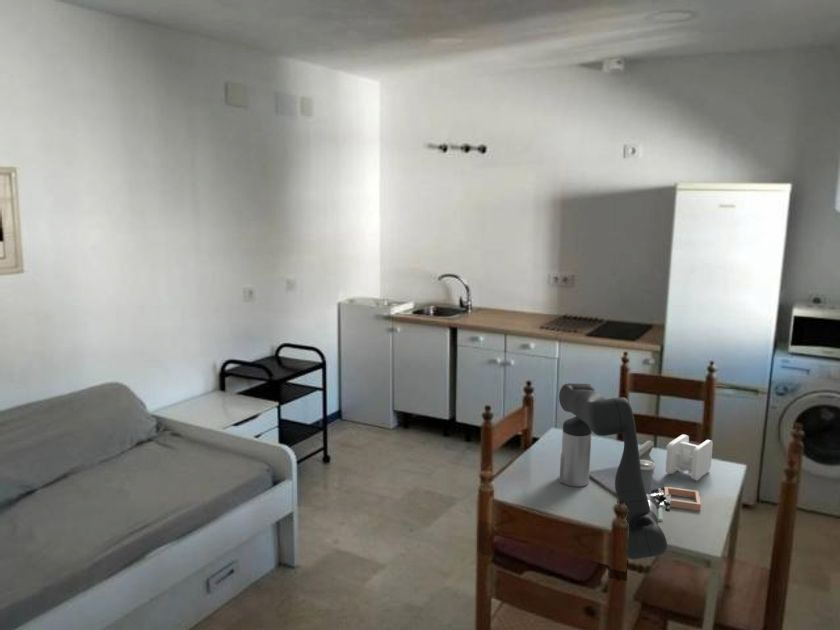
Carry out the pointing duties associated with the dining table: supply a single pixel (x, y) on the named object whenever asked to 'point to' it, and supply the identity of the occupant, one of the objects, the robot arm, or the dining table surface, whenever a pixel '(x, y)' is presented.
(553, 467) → the dining table surface
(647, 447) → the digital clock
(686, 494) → the tie collar
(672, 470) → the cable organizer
